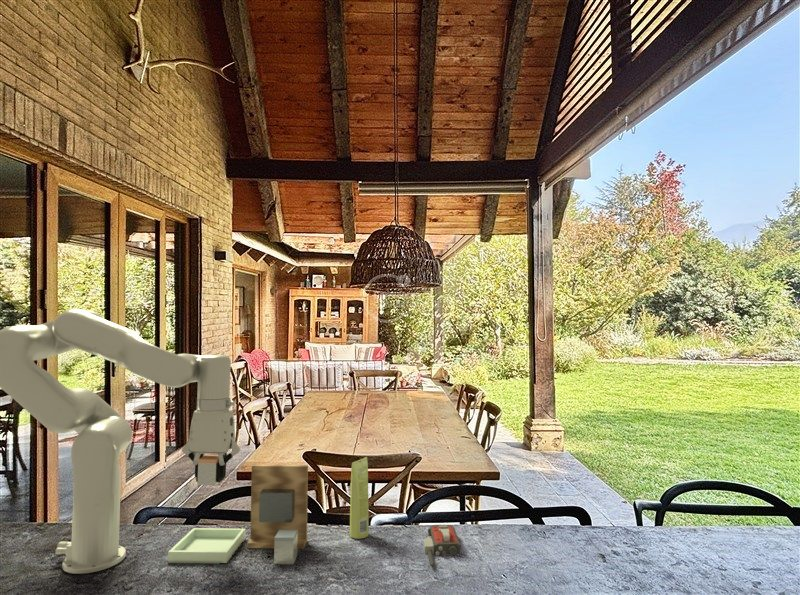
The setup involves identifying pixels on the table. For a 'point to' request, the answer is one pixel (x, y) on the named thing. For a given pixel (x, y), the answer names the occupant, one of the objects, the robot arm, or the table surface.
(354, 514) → the tube
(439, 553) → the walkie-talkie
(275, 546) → the block
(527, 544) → the table surface
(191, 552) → the tray
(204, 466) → the block
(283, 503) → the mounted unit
